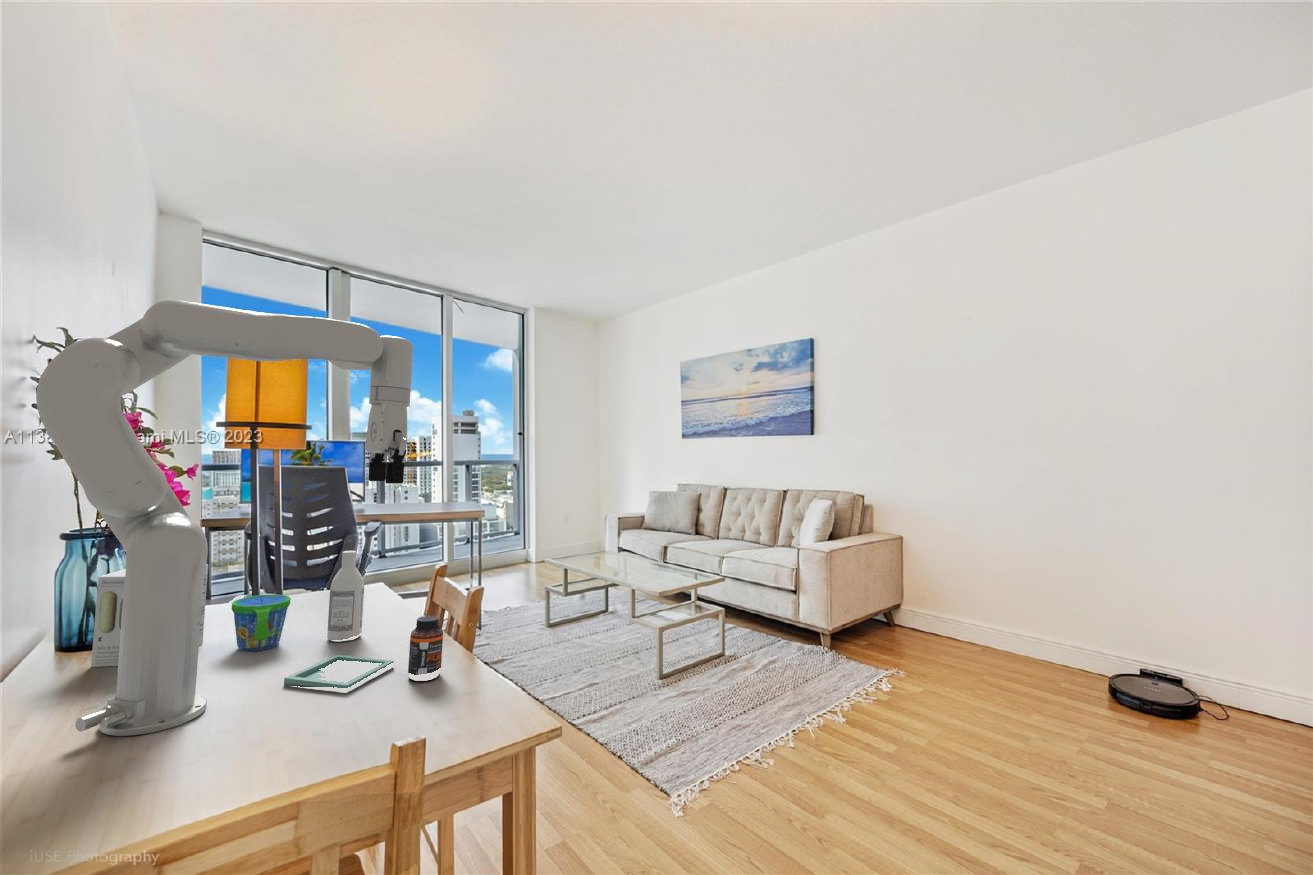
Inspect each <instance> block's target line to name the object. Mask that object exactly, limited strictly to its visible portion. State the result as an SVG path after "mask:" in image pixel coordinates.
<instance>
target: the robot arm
mask: <svg viewBox="0 0 1313 875" xmlns="http://www.w3.org/2000/svg"><path fill="white" fill-rule="evenodd" d="M413 347H414V346H413V344H412V342H411V341H410V340H409V339H406V338H403V337H400V336H392V335H381V336H380V333H378V332H377V331H376V330H375V329H374V328H372V327H370V326H369V325H368V326H367V325H366V324H362V323H356V322H351V321H345V320H339V319H332V318H324V317H317V316H316V317H314V316H304V315H303V316H302V315H289V314H279V313H266V312H257V311H253V310H242V309H238V308H237V309H236V308H231V307H226V306H219V305H212V304H205V303H199V302H192V301H185V300H177V299H168V300H167V299H166V300H161V301H157V302H156V303H154V304H152V305H151V306H150V307H149V308H148V309H147V310H146V311H145V313H144V315H143V317H141V318H140V319H138V320H137V321H135V322H134V323H132V324H130V325H129V326H127V327H125V328H123V329H122V330H119V331H117V332H115V333H114V334H111V335H110V336H108V337H107V338H105V337H104V338H103V337H91V338H84V339H81V340H78V341H76V342H73V343H72V344H70V345H68V346H67V347H64V348H63V349H62V350H61V351H60V352H59V353H58V354H56V355H55V357H54V358H52V359H51V361H50V362H49V363H48V365H47V366H46V367H45V368H44V370H43V371H42V373H41V376H40V378H39V380H38V385H37V387H36V396H35V398H36V408H37V412H38V416H39V418H40V421H41V423H42V425H43V427H44V429H45V431H46V432H47V434H48V436H49V437H50V439H51V441H52V443H53V444H54V445H55V447H56V449H57V450H58V451H59V453H60V455H61V456H62V458H63V460H64V461H65V463H66V464H67V466H68V467H69V468H70V470H71V472H72V473H73V475H74V476H75V477H76V479H77V481H78V482H79V484H80V485H81V488H82V489H83V492H84V494H85V497H86V499H87V500H88V503H90V505H91V506H93V507H94V509H96V511H97V512H98V513H99V515H100V516H101V517H102V518H103V520H104V522H105V524H107V526H108V527H109V529H110V530H111V532H112V533H113V534H114V536H115V537H116V539H117V541H119V543H120V544H121V546H122V547H123V548H124V551H125V552H126V554H125V555H126V557H125V569H126V573H125V584H124V595H123V606H122V619H121V636H120V648H119V661H118V666H117V673H116V674H117V676H116V686H115V687H116V688H115V696H113V697H110V698H107V701H106V706H104V707H102V708H101V709H100V710H99V711H97V712H92V713H89V714H86V715H83V716H80V717H78V718H77V719H76V721H75V723H74V726H75V729H76V730H77V731H78V732H80V733H81V732H84V731H86V730H89V729H91V728H95V727H96V726H98V725H99V727H98V728H99V731H100V732H101V733H102V734H105V735H107V736H114V737H115V736H116V737H127V736H129V737H130V736H138V735H145V734H150V733H155V732H160V731H164V730H168V729H171V728H174V727H177V726H180V725H183V724H185V723H187V722H190V721H191V720H194V719H195V718H197V717H198V716H201V715H202V714H203V713H204V712H205V711H206V709H207V705H208V704H207V699H206V697H204V696H201V695H198V694H196V689H197V688H196V687H197V676H198V675H197V674H198V661H199V660H198V659H199V648H200V645H199V635H200V621H201V604H202V592H203V582H204V575H205V569H206V564H207V563H208V562H207V560H208V554H209V553H208V552H209V549H208V548H209V545H208V540H207V536H206V534H205V532H204V531H203V529H202V528H201V527H200V526H199V524H197V523H196V522H195V521H194V520H193V519H192V518H191V517H190V515H189V514H188V513H187V511H186V509H185V507H184V506H183V505H182V503H181V502H180V500H179V498H178V496H176V493H175V492H174V491H173V489H172V488H171V486H170V484H169V483H168V480H167V477H166V474H165V473H164V471H163V470H162V468H160V466H158V464H156V463H155V461H154V460H153V459H152V457H151V456H150V454H149V453H148V451H146V449H145V448H144V446H143V444H142V443H141V441H140V440H139V438H138V436H137V435H136V433H135V430H134V429H133V428H132V427H133V426H131V424H130V423H129V420H128V419H127V418H126V416H125V414H124V413H123V409H122V404H121V403H122V402H121V401H122V397H123V396H124V395H127V394H129V393H131V392H132V391H134V390H135V389H137V388H139V387H141V386H143V385H144V384H146V383H147V382H149V381H151V380H152V379H154V378H156V377H158V376H159V375H161V374H163V373H164V372H166V371H168V370H169V369H171V368H173V367H175V366H177V364H179V363H181V362H182V361H184V360H186V359H187V358H189V357H190V356H192V355H196V356H197V355H198V356H205V357H206V356H207V357H216V358H226V359H238V360H243V361H245V360H246V361H253V362H254V361H256V362H269V363H271V362H273V363H274V362H284V361H289V360H320V361H321V360H323V361H329V362H330V363H331V364H332V365H333V366H335V367H337V368H339V369H342V370H351V371H354V370H355V371H356V370H357V371H359V370H360V371H370V380H369V381H370V382H369V397H368V398H369V400H368V404H369V405H371V406H370V410H369V414H368V421H367V428H366V429H367V430H366V439H365V450H366V452H367V453H369V458H368V460H369V464H368V476H367V478H368V481H369V482H385V483H386V484H403V483H404V479H405V478H404V477H405V475H404V474H405V462H406V457H405V456H406V455H407V452H406V449H407V445H408V407H410V406H411V405H410V404H411V390H412V389H411V388H412V374H413V373H412V372H413V371H412V370H413V369H412V368H413V355H414V354H413V352H414V351H413V350H414V348H413ZM386 458H387V460H388V462H387V461H386Z"/></svg>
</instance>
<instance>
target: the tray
mask: <svg viewBox="0 0 1313 875" xmlns="http://www.w3.org/2000/svg"><path fill="white" fill-rule="evenodd" d="M337 660H342V661H344V660H346V661H359V662H360V661H361V662H370V663H371V662H372V663H382V664H381V665H379V666H378V667H376V668H374V669H372V670H370V671H368V672H366V673H364V674H362V675H360V676H358V677H356V678H354V679H352V680H350V681H348V682H346V683H344V682H336V681H327V680H321V679H318V678H326V677H325V676H324V677H322V676H321V675H320V674H318V673H325V671H324V672H323V671H321V670H319V669H321V668H325V667H326V666H328V665H329V664H332V663H333V662H336V661H337ZM393 662H394V663H395V660H391V659H379V658H371V657H363V656H362V657H361V656H353V655H343V654H336V655H334V656H331V657H329V658H326V659H324V660H322V661H320V662H318V663H316V664H313V665H310V666H308V667H306V668H303V669H302V670H301V669H300V670H299V671H297V672H294V673H293V674H291V675H290V674H289V675H287V676H286V677H284V678H283V687H285V686H297V687H298V686H300V687H333V688H334V687H337V688H348V687H351V686H352V685H354V684H356V683H357V682H360V681H361V680H363V679H364V678H367V677H368V676H370V675H371V674H373V673H376V672H377V671H378V670H380V669H382V668H385V667H386V666H387V665H389V664H391V663H393ZM317 674H318V675H317Z"/></svg>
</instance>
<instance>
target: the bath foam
mask: <svg viewBox="0 0 1313 875" xmlns="http://www.w3.org/2000/svg"><path fill="white" fill-rule="evenodd" d="M357 554H358V553H357V551H356V550H344V551H342V552H341V568H340V569H338V571H337V573H336V574H335V575H334V577H333V579H332V581H331V583H330V588H329V602H328V604H329V606H328V618H327V619H328V620H327V638H328V639H329V640H343V639H348V638H350V637H353V636H357V635H359V634H360V633H361V634H362V629H363V617H364V615H363V613H364V595H365V594H364V593H365V581H364V578H363V576H362V573H360V571H359V569H358V568H357V566H356V564H357ZM328 639H327V640H328ZM329 640H328V641H329Z"/></svg>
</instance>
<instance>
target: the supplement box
mask: <svg viewBox="0 0 1313 875" xmlns="http://www.w3.org/2000/svg"><path fill="white" fill-rule="evenodd" d="M208 572H209V564H207V563H206V569H205V575H204V582H203V592H202V604H201V621H200V635H199V646H201V645H202V644H203V643H204V627H205V616H206V615H205V614H206V613H205V611H206V601H207V600H206V598H207V588H208V587H207V585H208V574H209V573H208ZM125 573H126V568H123V569H119V570H118V571H113V572H110V573H107V574H103V575H100V576H98V577H97V578H98V579H97V589H96V590H97V591H96V601H95V613H94V614H95V615H94V616H95V617H94V627H93V628H94V629H93V637H92V638H93V640H92V651H91V661H90V662H91V664H90V667H91V668H102V667H118V661H119V648H120V636H121V619H122V606H123V595H124V584H125Z"/></svg>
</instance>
